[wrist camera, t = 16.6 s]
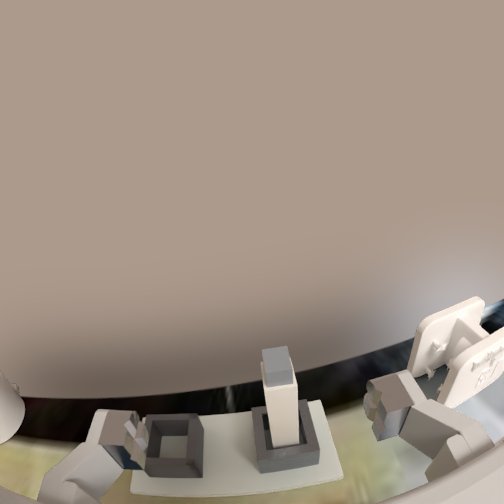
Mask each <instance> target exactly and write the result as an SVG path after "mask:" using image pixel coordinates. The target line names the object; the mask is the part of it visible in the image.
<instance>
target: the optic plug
mask: <svg viewBox="0 0 504 504" xmlns="http://www.w3.org/2000/svg"><path fill="white" fill-rule="evenodd" d="M262 355H263V362H261V370H262V377H263V385H264V392H265V399H266V405H267V412H268V418H269V424H270V431H271V437H272V443H273V450H274V449H280V448H287V447H292V446H298V445H299V420H298V389H297V383H296V378H295V374H294V371H293V367H292V362H291V358H290V356H289V352H288V348H287V346H283V347H276V348H270V349H263V350H262Z"/></svg>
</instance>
